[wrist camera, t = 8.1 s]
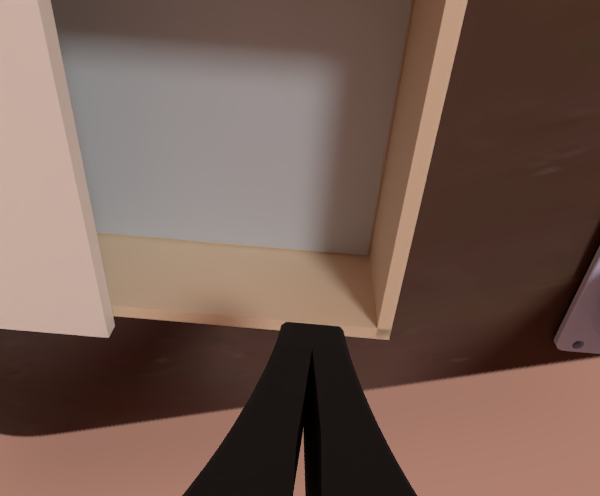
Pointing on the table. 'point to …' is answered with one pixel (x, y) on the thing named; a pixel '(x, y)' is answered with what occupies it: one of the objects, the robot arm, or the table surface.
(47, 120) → the lid
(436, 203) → the table surface
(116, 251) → the box
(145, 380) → the table surface
